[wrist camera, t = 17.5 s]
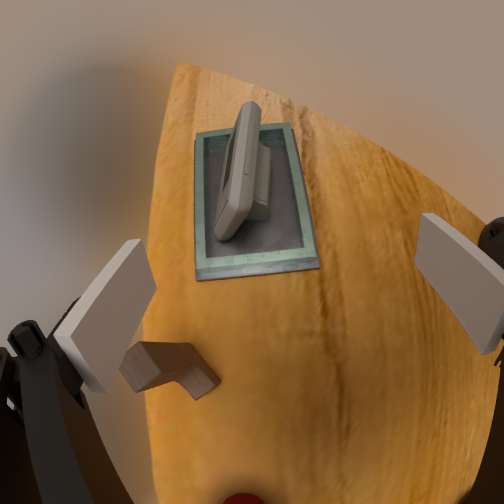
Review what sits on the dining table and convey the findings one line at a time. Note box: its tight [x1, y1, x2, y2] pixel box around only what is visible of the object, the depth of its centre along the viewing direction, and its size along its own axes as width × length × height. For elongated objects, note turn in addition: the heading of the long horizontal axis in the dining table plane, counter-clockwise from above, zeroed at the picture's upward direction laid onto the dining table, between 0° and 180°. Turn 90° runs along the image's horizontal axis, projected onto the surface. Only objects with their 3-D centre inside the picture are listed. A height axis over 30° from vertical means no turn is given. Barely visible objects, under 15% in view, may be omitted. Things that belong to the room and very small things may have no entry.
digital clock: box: [213, 101, 272, 241], centre depth 35 cm, size 16×9×11 cm, turn 164°
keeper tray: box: [194, 122, 320, 282], centre depth 39 cm, size 16×23×4 cm
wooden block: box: [119, 341, 221, 400], centre depth 27 cm, size 7×3×15 cm, turn 40°
